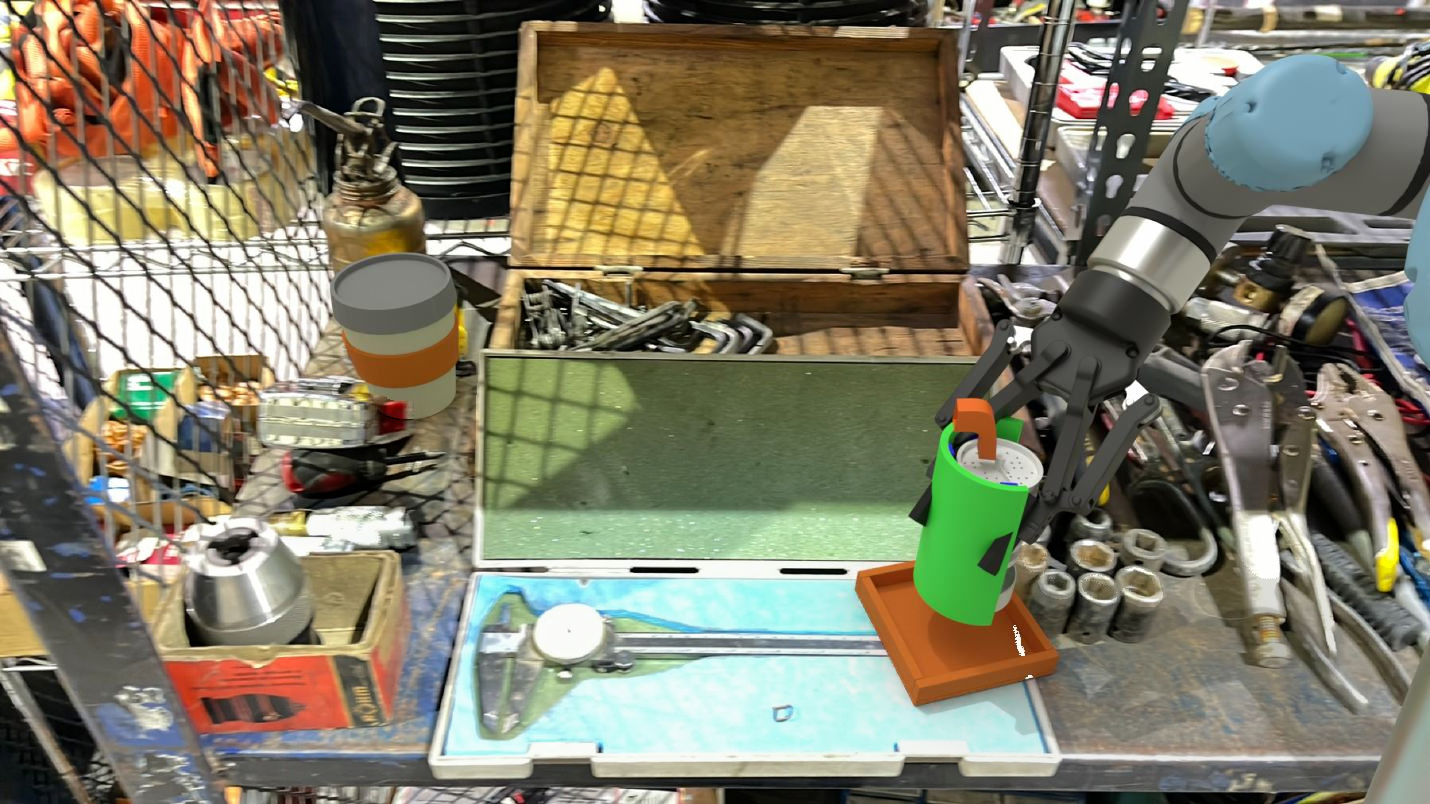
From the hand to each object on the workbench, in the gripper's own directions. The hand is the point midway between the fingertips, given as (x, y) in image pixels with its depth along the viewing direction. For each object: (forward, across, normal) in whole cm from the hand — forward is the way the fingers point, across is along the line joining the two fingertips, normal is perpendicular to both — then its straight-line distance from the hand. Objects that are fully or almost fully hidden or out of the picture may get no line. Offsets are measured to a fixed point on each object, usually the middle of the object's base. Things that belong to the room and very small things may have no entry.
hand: (951, 545), depth 69 cm
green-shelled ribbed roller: (+2, 0, -8) cm, 8 cm away
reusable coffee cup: (+21, +59, +3) cm, 63 cm away
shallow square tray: (+7, 0, -12) cm, 13 cm away
